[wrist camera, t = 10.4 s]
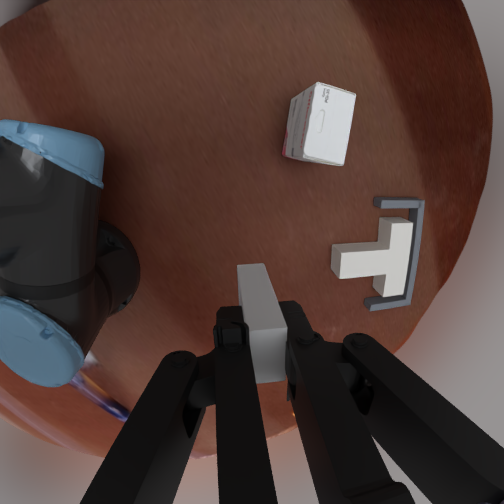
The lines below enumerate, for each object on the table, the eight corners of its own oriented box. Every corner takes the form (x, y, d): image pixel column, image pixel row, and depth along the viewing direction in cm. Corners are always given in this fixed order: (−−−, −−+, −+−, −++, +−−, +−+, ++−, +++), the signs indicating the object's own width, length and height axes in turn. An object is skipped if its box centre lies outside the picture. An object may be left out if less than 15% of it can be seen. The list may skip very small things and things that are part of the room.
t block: (329, 291, 48) (337, 303, 45) (333, 218, 44) (343, 225, 41) (391, 284, 49) (403, 294, 46) (399, 216, 45) (413, 222, 42)
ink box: (312, 163, 41) (345, 169, 30) (279, 156, 41) (301, 159, 30) (323, 105, 39) (358, 93, 28) (290, 97, 38) (315, 80, 27)
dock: (364, 304, 50) (369, 311, 48) (373, 197, 44) (381, 200, 41) (403, 298, 51) (409, 304, 48) (416, 197, 44) (424, 200, 42)
